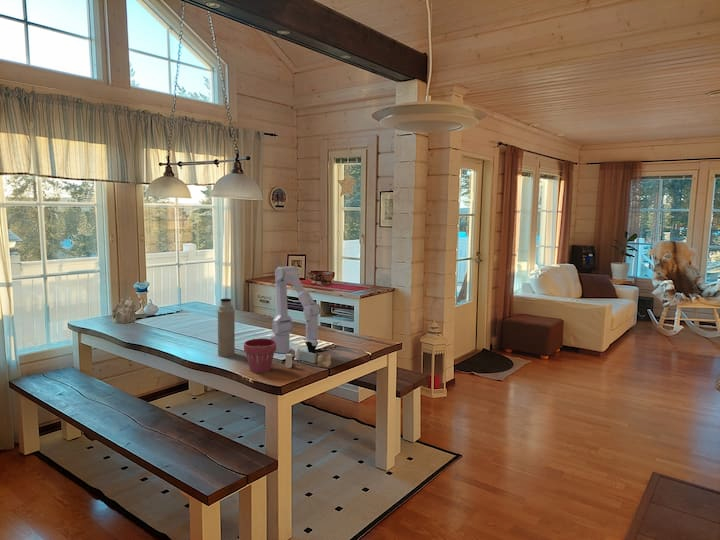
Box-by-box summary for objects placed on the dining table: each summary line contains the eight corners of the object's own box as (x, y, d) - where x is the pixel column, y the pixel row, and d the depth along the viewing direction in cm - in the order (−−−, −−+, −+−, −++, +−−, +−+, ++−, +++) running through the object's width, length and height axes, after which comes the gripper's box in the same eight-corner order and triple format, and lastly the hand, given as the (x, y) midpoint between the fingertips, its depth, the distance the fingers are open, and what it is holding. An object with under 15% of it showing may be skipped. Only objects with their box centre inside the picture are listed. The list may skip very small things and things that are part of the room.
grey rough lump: (121, 316, 321) (119, 293, 318) (141, 319, 316) (140, 296, 313) (101, 322, 306) (100, 299, 303) (123, 326, 301) (122, 302, 299)
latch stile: (283, 367, 228) (283, 354, 227) (288, 363, 235) (288, 350, 234) (290, 368, 227) (290, 355, 227) (295, 363, 234) (295, 351, 233)
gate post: (292, 359, 240) (293, 349, 239) (295, 357, 243) (295, 347, 242) (300, 360, 239) (300, 350, 238) (302, 358, 242) (302, 348, 242)
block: (317, 366, 231) (317, 356, 231) (320, 363, 236) (320, 354, 236) (327, 367, 230) (328, 357, 230) (330, 364, 235) (331, 354, 234)
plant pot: (238, 373, 218) (238, 345, 217) (251, 363, 232) (251, 337, 230) (269, 376, 215) (269, 347, 214) (280, 366, 229) (280, 339, 227)
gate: (300, 359, 239) (300, 351, 238) (302, 359, 240) (302, 350, 240) (314, 363, 234) (314, 354, 234) (316, 362, 235) (316, 353, 235)
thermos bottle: (234, 351, 250) (234, 297, 247) (235, 356, 242) (234, 300, 239) (217, 352, 248) (217, 297, 244) (218, 357, 240) (217, 300, 237)
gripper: (300, 325, 243) (300, 352, 244) (306, 333, 229) (306, 361, 231) (314, 325, 245) (314, 351, 246) (321, 332, 231) (320, 360, 233)
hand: (311, 356), depth 239 cm, fingers closed, pressing on gate
